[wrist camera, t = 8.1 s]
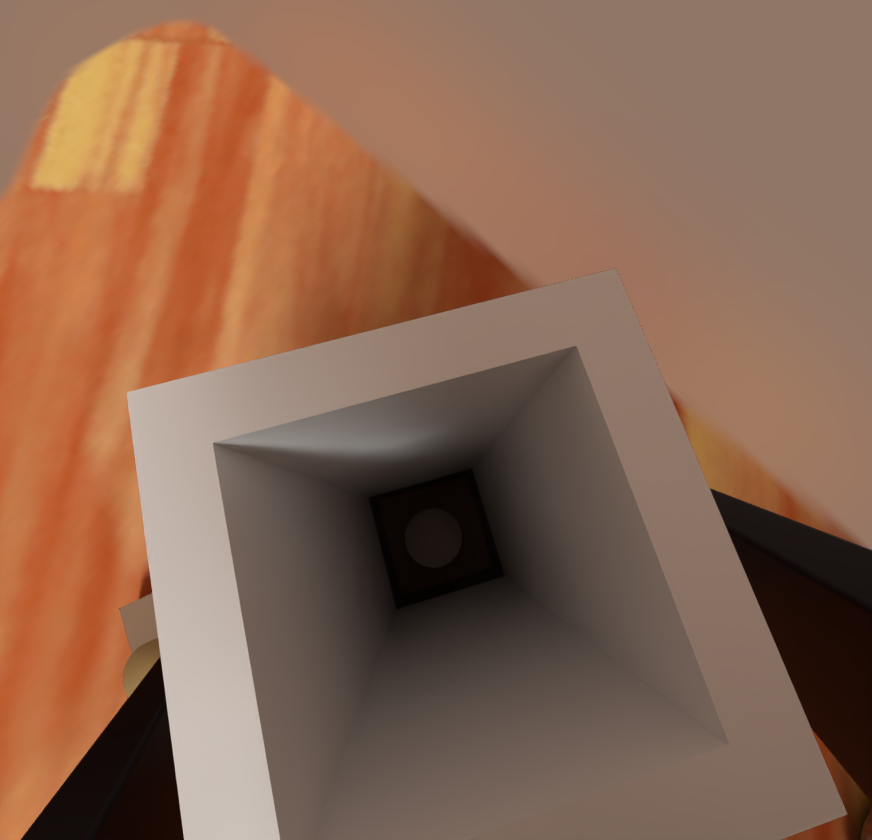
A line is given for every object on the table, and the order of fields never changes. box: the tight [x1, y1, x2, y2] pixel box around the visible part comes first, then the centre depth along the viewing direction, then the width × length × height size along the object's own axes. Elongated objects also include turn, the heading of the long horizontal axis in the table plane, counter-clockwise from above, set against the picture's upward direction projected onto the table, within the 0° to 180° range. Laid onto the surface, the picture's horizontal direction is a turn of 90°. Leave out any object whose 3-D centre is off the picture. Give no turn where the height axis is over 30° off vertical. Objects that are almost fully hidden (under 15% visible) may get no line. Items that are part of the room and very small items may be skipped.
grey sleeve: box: [127, 268, 848, 840], centre depth 10 cm, size 5×5×13 cm
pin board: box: [119, 476, 493, 697], centre depth 14 cm, size 9×14×4 cm, turn 115°
